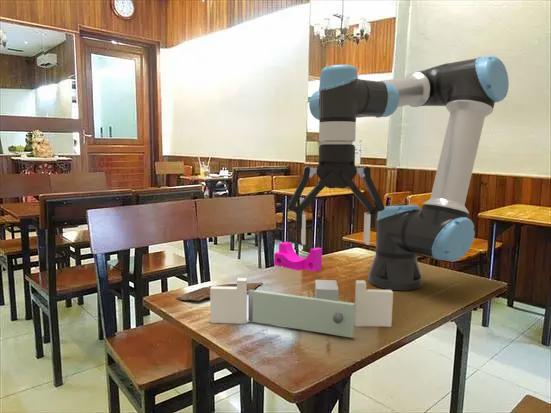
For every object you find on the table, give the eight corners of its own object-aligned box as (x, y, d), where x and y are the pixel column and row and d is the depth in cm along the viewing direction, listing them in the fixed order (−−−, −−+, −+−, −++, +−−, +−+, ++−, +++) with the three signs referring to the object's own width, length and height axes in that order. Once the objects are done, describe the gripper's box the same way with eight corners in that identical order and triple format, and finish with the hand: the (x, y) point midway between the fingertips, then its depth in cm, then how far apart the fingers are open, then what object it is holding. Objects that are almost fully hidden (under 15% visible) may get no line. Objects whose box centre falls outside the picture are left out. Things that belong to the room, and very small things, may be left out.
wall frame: (389, 323, 95) (391, 281, 94) (391, 327, 93) (393, 283, 92) (211, 319, 96) (211, 277, 95) (210, 323, 94) (210, 280, 93)
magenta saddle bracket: (274, 266, 142) (274, 244, 141) (285, 262, 147) (285, 241, 146) (310, 274, 133) (311, 251, 132) (321, 270, 137) (322, 248, 136)
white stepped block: (335, 312, 102) (336, 280, 101) (339, 333, 90) (340, 297, 89) (314, 311, 102) (315, 279, 101) (316, 332, 90) (317, 296, 89)
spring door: (353, 335, 88) (354, 303, 87) (351, 340, 85) (352, 307, 84) (249, 318, 96) (250, 289, 95) (245, 322, 93) (245, 292, 92)
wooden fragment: (183, 304, 103) (183, 300, 103) (171, 294, 113) (170, 291, 113) (273, 289, 116) (273, 285, 116) (255, 281, 126) (255, 278, 126)
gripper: (392, 143, 90) (388, 239, 93) (277, 143, 91) (276, 239, 94) (402, 143, 83) (397, 247, 86) (277, 143, 83) (276, 247, 86)
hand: (334, 243), depth 90 cm, fingers open, 13 cm apart
